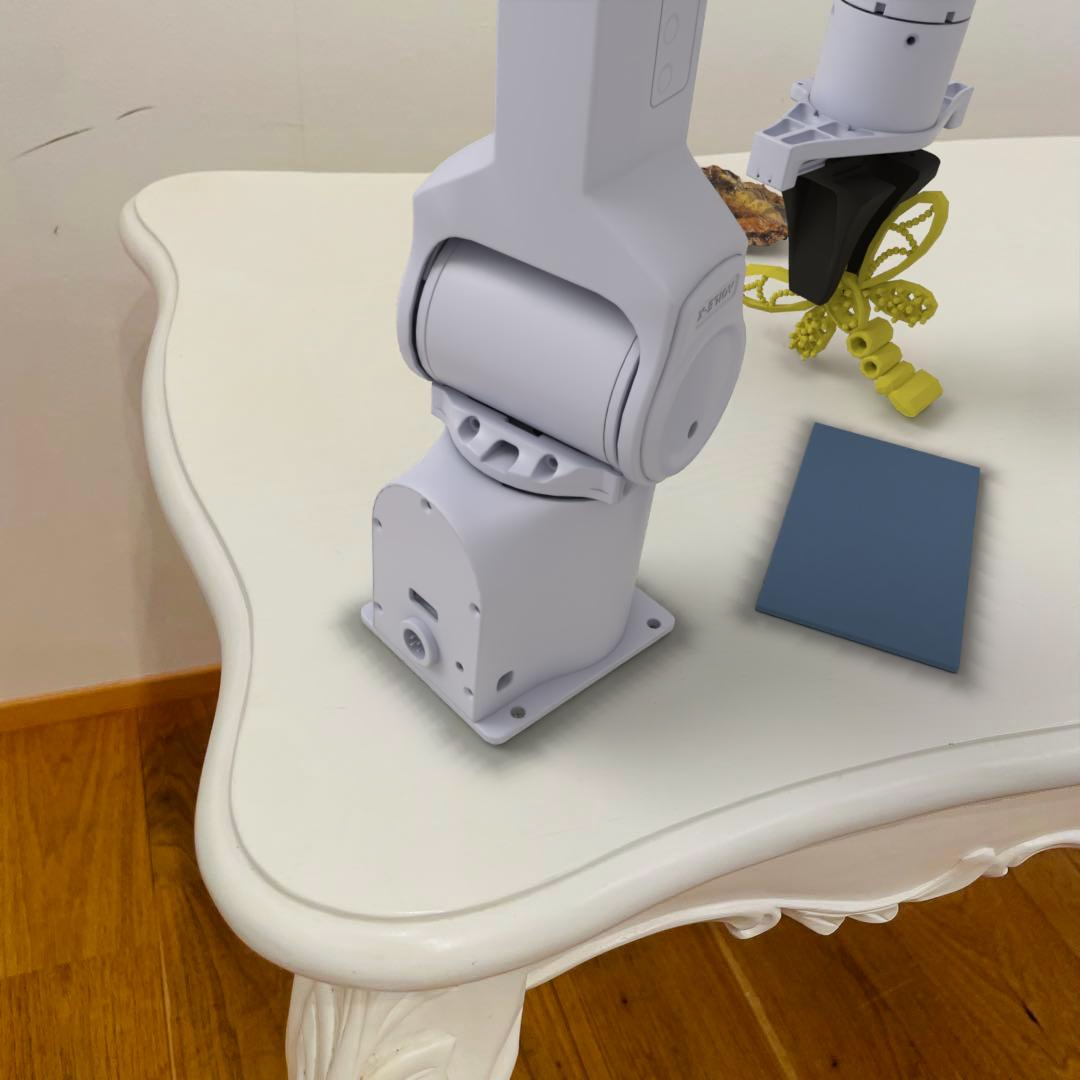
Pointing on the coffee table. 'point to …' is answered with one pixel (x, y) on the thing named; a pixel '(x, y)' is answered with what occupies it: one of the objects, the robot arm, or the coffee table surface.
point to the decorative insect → (876, 334)
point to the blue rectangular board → (876, 546)
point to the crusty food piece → (750, 206)
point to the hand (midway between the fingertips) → (819, 290)
